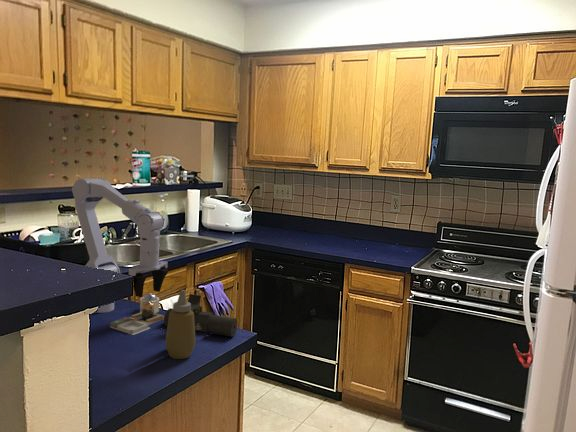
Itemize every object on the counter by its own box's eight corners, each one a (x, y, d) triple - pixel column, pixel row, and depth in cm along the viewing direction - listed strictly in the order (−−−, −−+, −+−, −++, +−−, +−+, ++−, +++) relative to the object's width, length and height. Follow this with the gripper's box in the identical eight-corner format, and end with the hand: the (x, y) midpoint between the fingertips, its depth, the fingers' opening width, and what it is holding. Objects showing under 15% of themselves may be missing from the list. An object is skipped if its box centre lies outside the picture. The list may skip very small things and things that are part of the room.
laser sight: (228, 343, 139) (230, 310, 137) (157, 332, 143) (158, 300, 142) (238, 331, 148) (240, 300, 147) (172, 321, 153) (173, 291, 151)
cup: (136, 313, 157) (136, 299, 156) (149, 309, 162) (149, 295, 161) (149, 317, 154) (149, 302, 153) (162, 313, 159) (163, 298, 158)
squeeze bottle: (198, 359, 126) (202, 293, 124) (168, 363, 123) (171, 296, 120) (190, 347, 133) (193, 285, 131) (161, 351, 130) (163, 287, 127)
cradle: (108, 330, 141) (109, 322, 141) (127, 323, 148) (127, 316, 147) (133, 338, 137) (133, 330, 136) (150, 331, 143) (151, 323, 143)
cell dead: (141, 311, 157) (142, 293, 156) (149, 308, 160) (150, 291, 159) (149, 313, 155) (150, 295, 155) (157, 310, 159) (158, 293, 158)
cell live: (139, 320, 149) (139, 301, 148) (147, 317, 152) (148, 299, 151) (147, 323, 147) (148, 304, 146) (155, 320, 150) (156, 301, 149)
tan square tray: (129, 323, 148) (129, 316, 148) (147, 316, 155) (148, 309, 155) (146, 328, 144) (146, 321, 144) (164, 321, 151) (165, 314, 151)
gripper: (141, 257, 138) (139, 301, 140) (175, 250, 151) (173, 291, 153) (124, 253, 142) (122, 297, 144) (158, 246, 154) (157, 286, 156)
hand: (147, 293), depth 148 cm, fingers open, 7 cm apart
